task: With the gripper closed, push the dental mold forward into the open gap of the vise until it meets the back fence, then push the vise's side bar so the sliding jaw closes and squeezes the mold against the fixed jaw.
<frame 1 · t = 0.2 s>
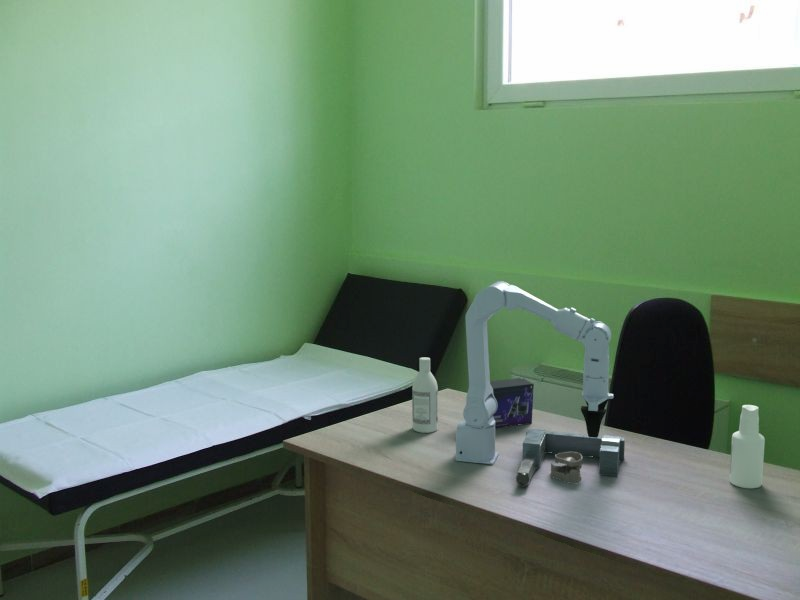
hand: (594, 431, 193), 10 cm above the table, tool pointing down, fingers open, 7 cm apart
spray bottle: (745, 483, 187), on the table
vise bed: (570, 467, 198), on the table
bath foam: (425, 430, 226), on the table
sliding jaw: (530, 457, 196), point 3 cm above the table, slide at 0.0 cm
box: (500, 424, 230), on the table
dental mold: (569, 478, 192), on the table
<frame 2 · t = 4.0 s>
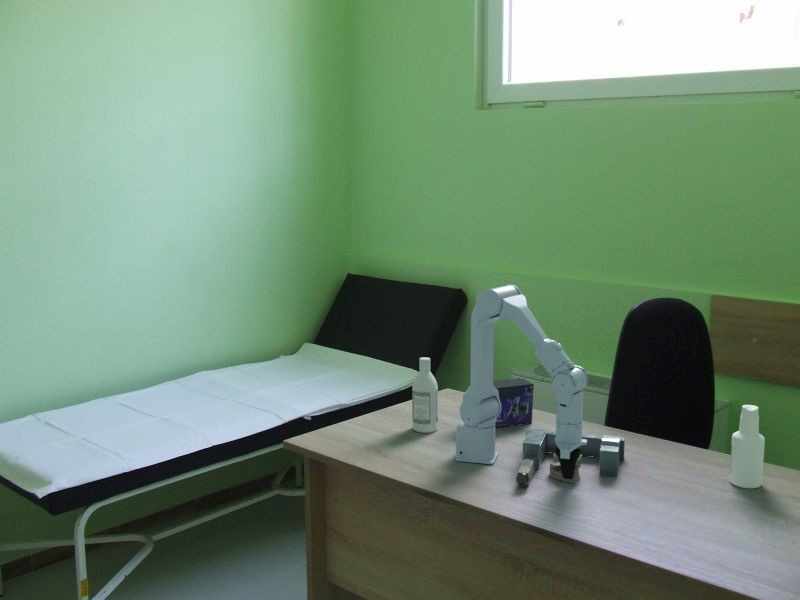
hand: (567, 478, 188), 1 cm above the table, tool pointing down, fingers closed
dental mold: (568, 477, 192), on the table, touching gripper
everything else where it was.
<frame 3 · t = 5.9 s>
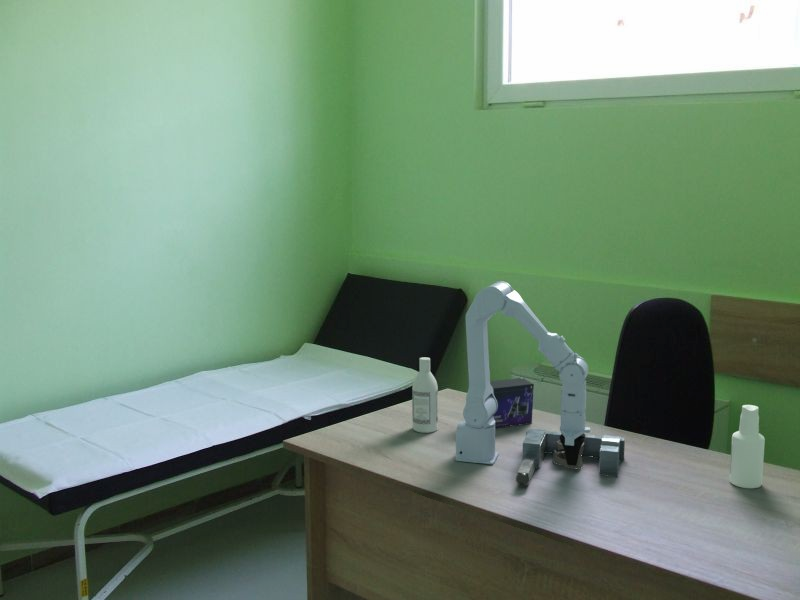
hand: (571, 464, 196), 1 cm above the table, tool pointing down, fingers closed
dental mold: (571, 463, 201), on the table, touching gripper
everything else where it was.
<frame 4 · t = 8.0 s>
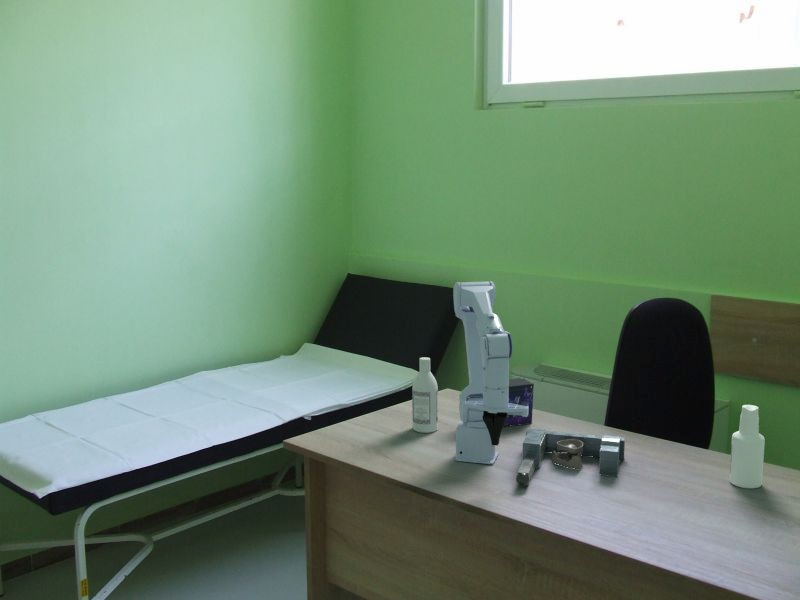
hand: (495, 443, 187), 9 cm above the table, tool pointing down, fingers closed
dental mold: (570, 464, 201), on the table
everything else where it was.
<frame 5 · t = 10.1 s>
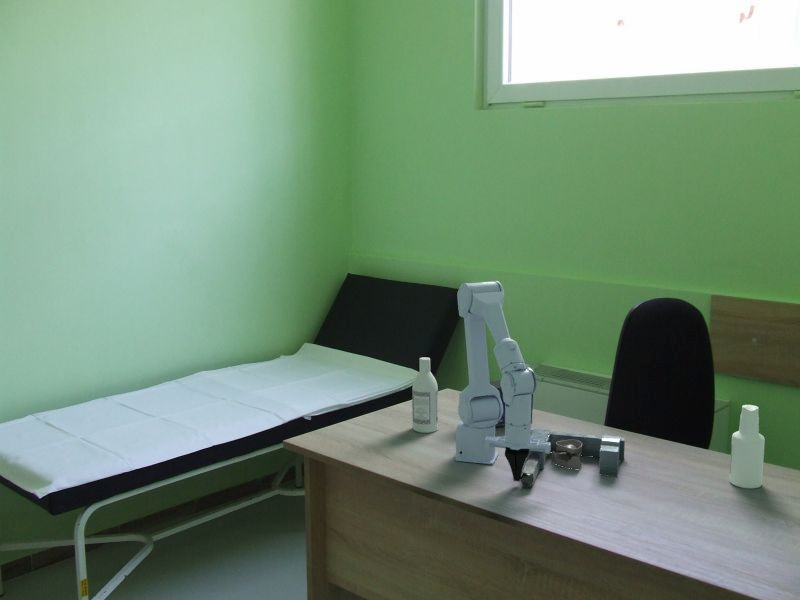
hand: (517, 479, 187), 1 cm above the table, tool pointing down, fingers closed
sliding jaw: (534, 458, 195), point 3 cm above the table, slide at 1.0 cm, touching gripper
everything else where it was.
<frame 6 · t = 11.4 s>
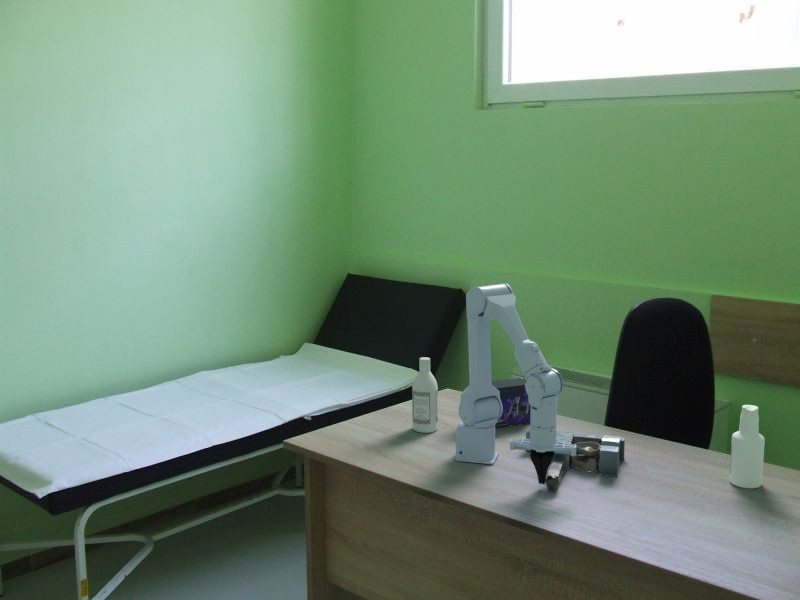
hand: (542, 482, 186), 1 cm above the table, tool pointing down, fingers closed
sliding jaw: (558, 460, 194), point 3 cm above the table, slide at 6.6 cm, touching gripper
dental mold: (587, 467, 199), on the table
everything else where it was.
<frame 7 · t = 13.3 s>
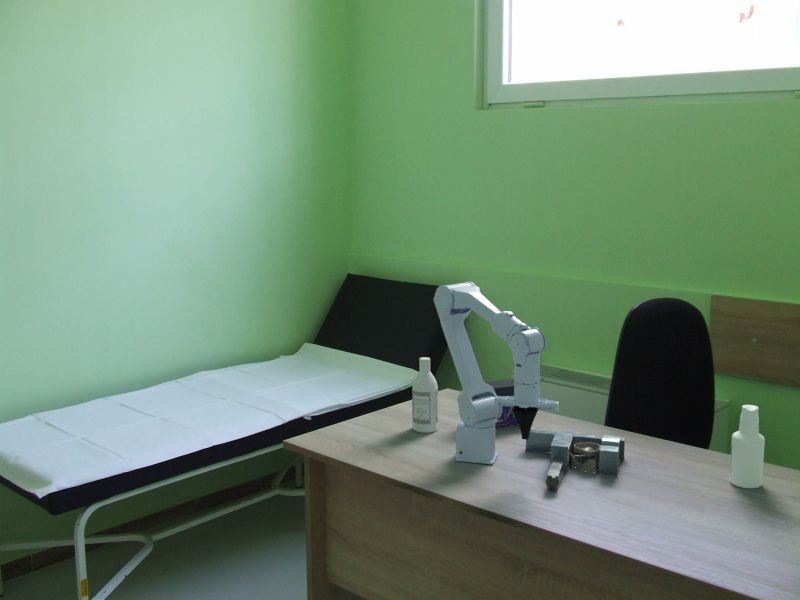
hand: (525, 438, 191), 9 cm above the table, tool pointing down, fingers closed
sliding jaw: (558, 460, 194), point 3 cm above the table, slide at 6.6 cm
everything else where it was.
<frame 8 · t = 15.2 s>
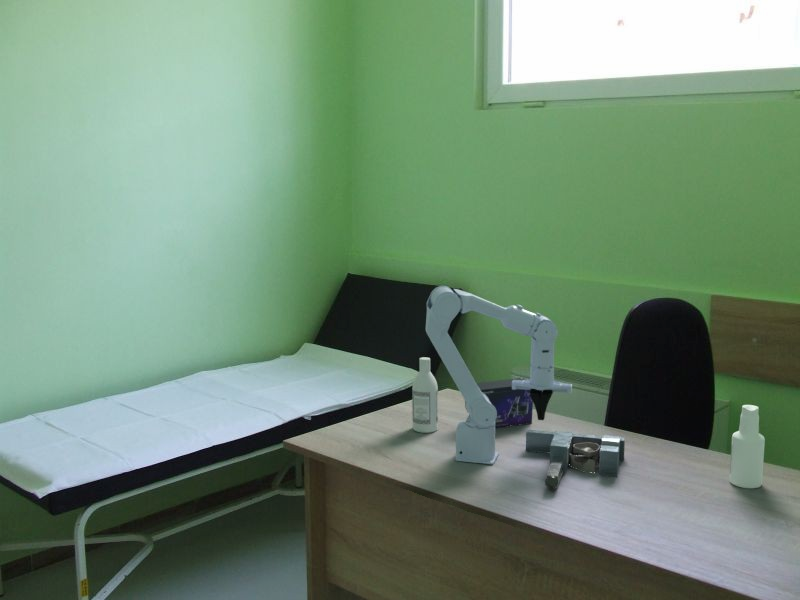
hand: (541, 418, 204), 9 cm above the table, tool pointing down, fingers closed
sliding jaw: (558, 460, 194), point 3 cm above the table, slide at 6.5 cm, touching dental mold
dental mold: (587, 467, 198), on the table, touching sliding jaw
everything else where it was.
at the end: dental mold inside the target area (3.0 cm from its centre), on the table; sliding jaw slide at 6.5 cm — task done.
